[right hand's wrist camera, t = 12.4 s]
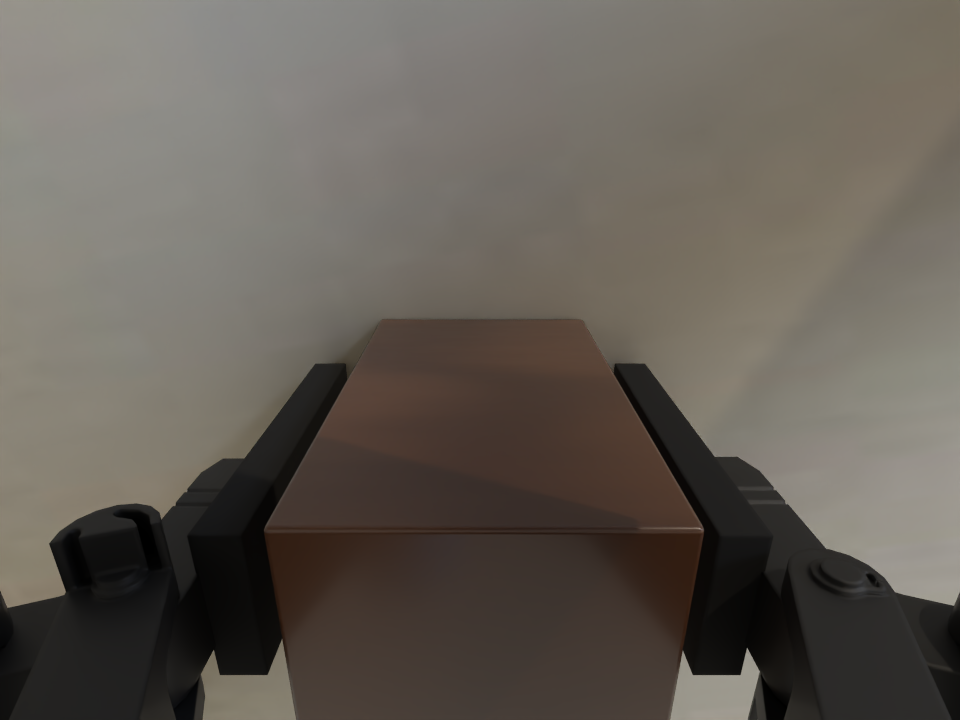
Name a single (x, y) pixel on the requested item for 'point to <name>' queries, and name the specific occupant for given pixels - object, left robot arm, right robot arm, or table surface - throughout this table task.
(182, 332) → the table surface
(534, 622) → the walnut block
